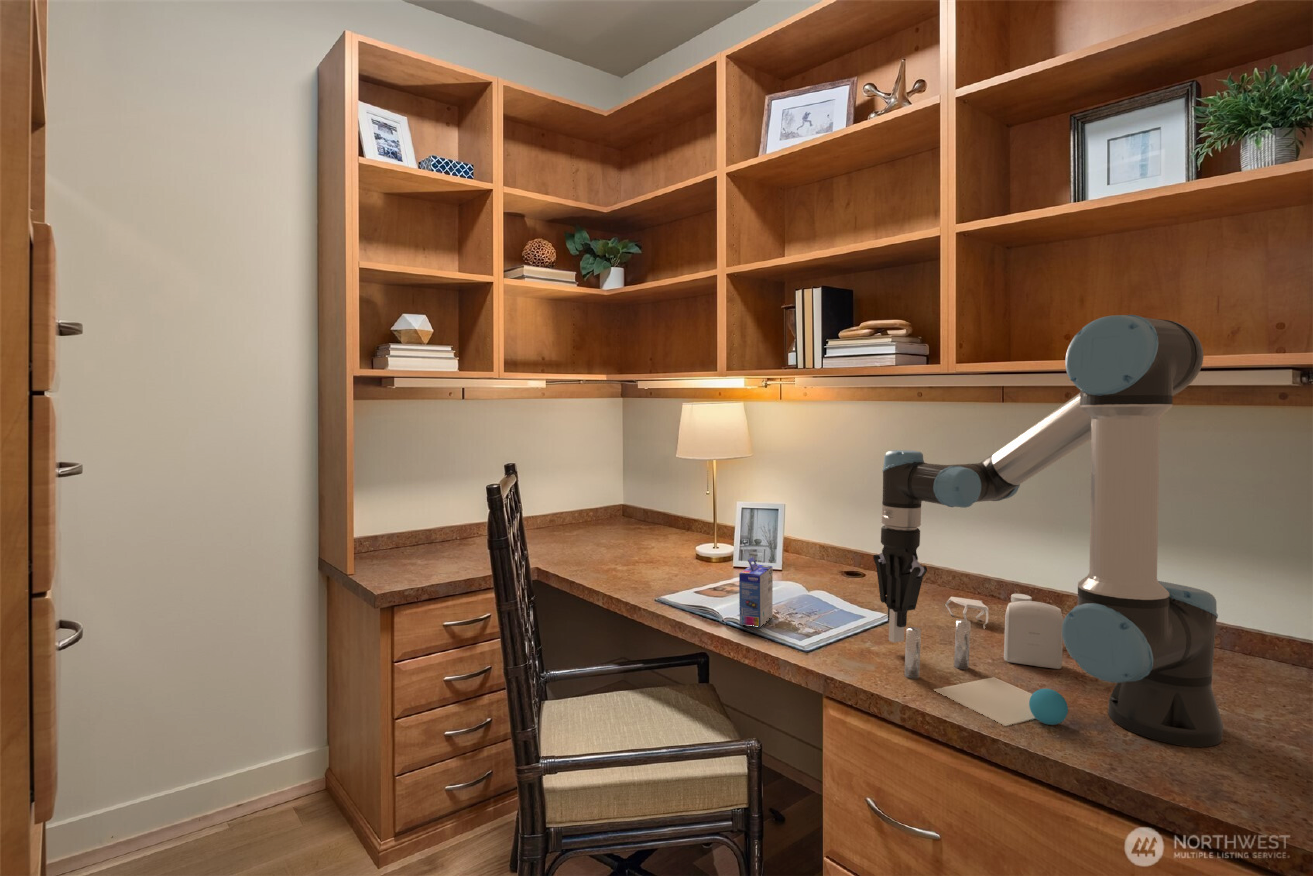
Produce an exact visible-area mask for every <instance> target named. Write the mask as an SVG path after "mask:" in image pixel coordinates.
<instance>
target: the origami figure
mask: <svg viewBox="0 0 1313 876" xmlns="http://www.w3.org/2000/svg"><path fill="white" fill-rule="evenodd" d="M951 602H953V603H955V604H958V605H961V606H962V607H964V608H963V611H962V615H963V618H964V620H968V618H967V611H968V609H969V608H970V609H976V610H981V611H980V612H979V613H978V614H977V615H976V616H974V617H975V619H977V620H978V621H982V622H984V619H982V618H980V617H981V616H983V615H985V623H983V624H982V626H983V629H985V628H986V625H987V624H989V607H988V606H987V605H985V604H984V603H983V600H977V599H972V598H964V597H957V596H950V597H949V598H948V600H947V601H946V603H945V604H944V605H945V608H947V610H948V612H949V613H950V616H951V617H954V614H953V612H952V610H951V608H950V606H949V604H950V603H951ZM986 629H987V628H986Z"/></svg>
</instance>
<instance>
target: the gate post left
mask: <svg viewBox="0 0 1313 876" xmlns="http://www.w3.org/2000/svg"><path fill="white" fill-rule="evenodd" d="M921 638H922V629H921V628H920V627H917V626H908V627H905V651H904V652H905V654H904V677H905V678H907V679H910V680H917V679H919V678H920V667H921V666H920V665H921V642H922V641H921V640H922V639H921Z"/></svg>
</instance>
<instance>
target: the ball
mask: <svg viewBox="0 0 1313 876" xmlns="http://www.w3.org/2000/svg"><path fill="white" fill-rule="evenodd" d="M1031 694H1032V696H1031V697H1030V700H1029V707H1030V710H1031V713H1032V714H1033V716H1034V717H1035V718H1036V719H1035V720H1037V721H1039V722H1040V723H1041V724H1042V723H1043V724H1045V725H1050V726H1055V725H1059V724H1061V723H1062V722H1064V721H1065V720H1066V718H1067V716H1068V713H1069V711H1068V710H1069V706H1068V703H1067V701H1066V699H1065V697H1064V696H1062V694H1061V693H1059V692H1058V691H1056V690H1054V689H1052V688H1040V689H1037V690H1036V691H1034V692H1033V693H1031Z"/></svg>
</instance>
